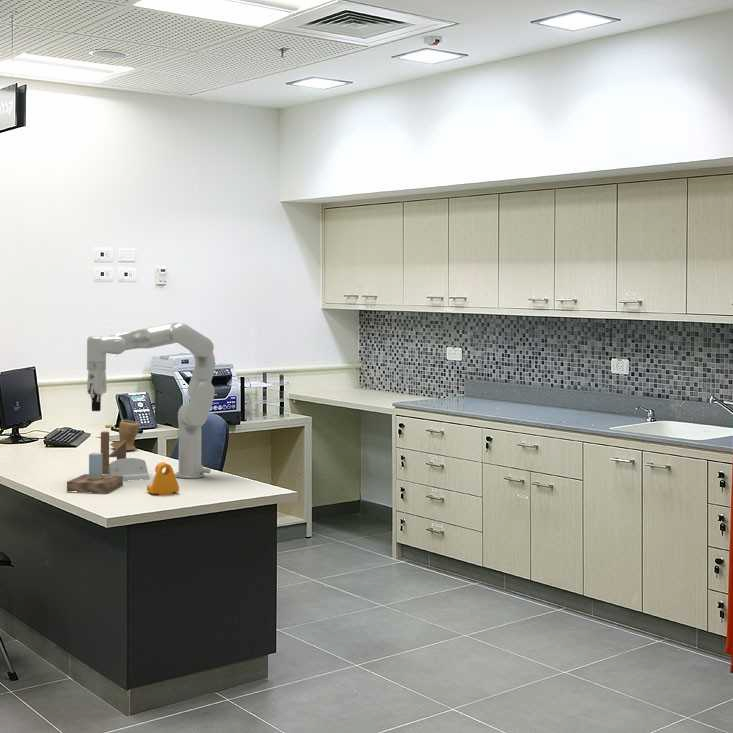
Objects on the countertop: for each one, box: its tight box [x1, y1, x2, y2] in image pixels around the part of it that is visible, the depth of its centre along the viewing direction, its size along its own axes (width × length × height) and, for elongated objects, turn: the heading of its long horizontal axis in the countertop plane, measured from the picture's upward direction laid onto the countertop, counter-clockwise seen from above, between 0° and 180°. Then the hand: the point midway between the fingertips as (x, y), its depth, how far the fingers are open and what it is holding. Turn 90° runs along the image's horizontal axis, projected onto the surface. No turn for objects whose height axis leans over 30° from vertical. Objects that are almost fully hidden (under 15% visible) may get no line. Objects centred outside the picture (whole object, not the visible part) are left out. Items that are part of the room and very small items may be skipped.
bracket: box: [146, 462, 180, 496], centre depth 397 cm, size 11×7×12 cm, turn 121°
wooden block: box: [100, 430, 127, 475], centre depth 438 cm, size 4×11×18 cm, turn 112°
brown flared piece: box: [109, 419, 140, 452], centre depth 504 cm, size 15×12×15 cm
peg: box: [88, 452, 103, 480], centre depth 402 cm, size 4×4×14 cm
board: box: [66, 473, 124, 495], centre depth 402 cm, size 16×18×4 cm
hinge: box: [107, 457, 151, 482], centre depth 425 cm, size 17×5×10 cm, turn 121°
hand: (96, 410), depth 417 cm, fingers closed
